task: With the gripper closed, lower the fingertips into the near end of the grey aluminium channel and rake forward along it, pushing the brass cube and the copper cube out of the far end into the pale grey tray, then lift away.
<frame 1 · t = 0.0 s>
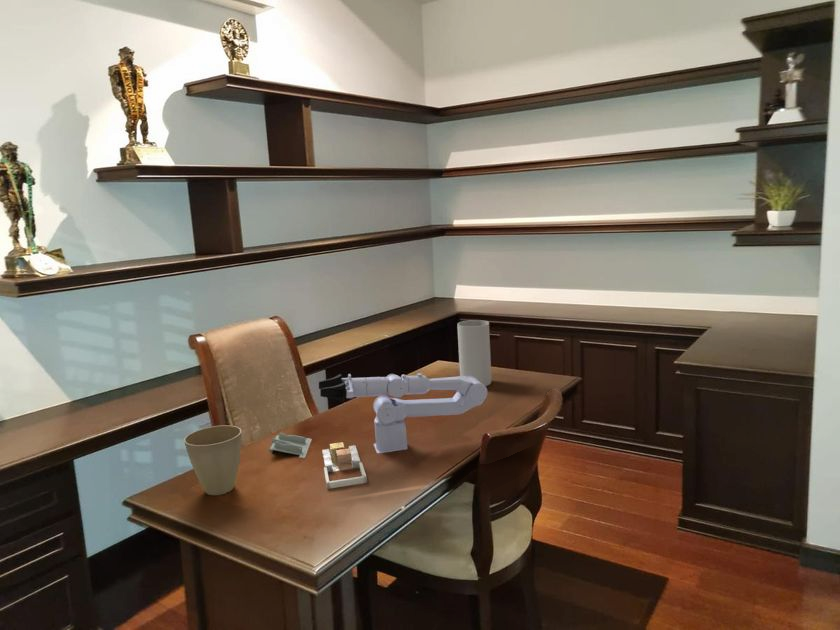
hand: (319, 388, 184), 22 cm above the table, tool horizontal, fingers open, 7 cm apart
copper cube: (344, 464, 181), point 1 cm above the table, touching aluminium channel
brass cube: (338, 458, 186), point 1 cm above the table, touching aluminium channel
plant pot: (220, 489, 172), on the table
aluminium channel: (341, 463, 183), on the table
cylinder vase: (475, 384, 251), on the table
tray: (343, 471, 178), on the table
metal bracket: (292, 452, 195), on the table
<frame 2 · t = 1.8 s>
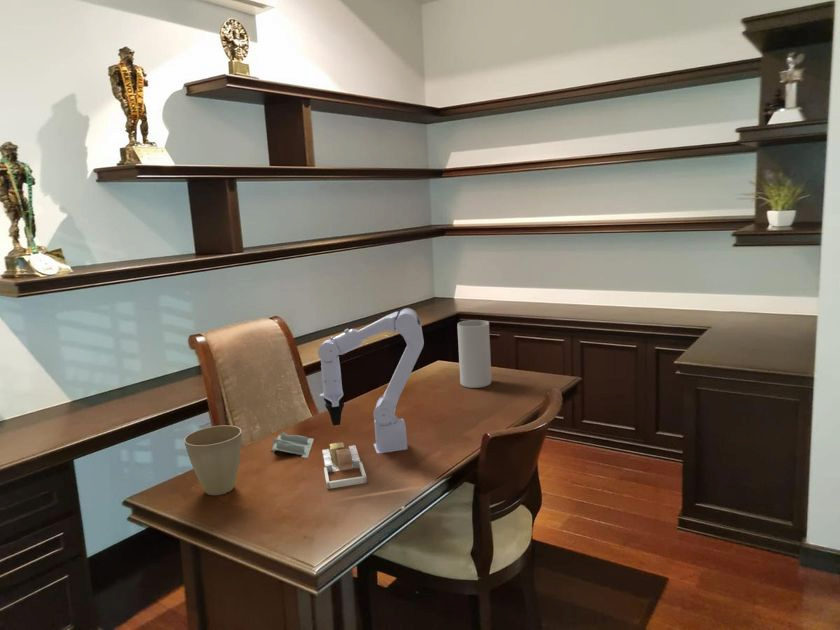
hand: (335, 421, 191), 9 cm above the table, tool pointing down, fingers open, 5 cm apart
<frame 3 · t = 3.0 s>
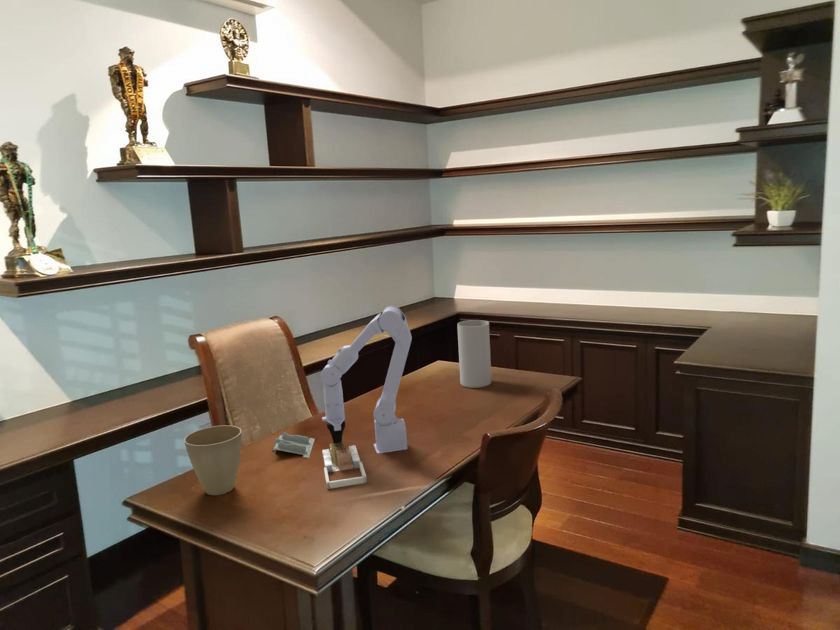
hand: (337, 444, 193), 2 cm above the table, tool pointing down, fingers closed
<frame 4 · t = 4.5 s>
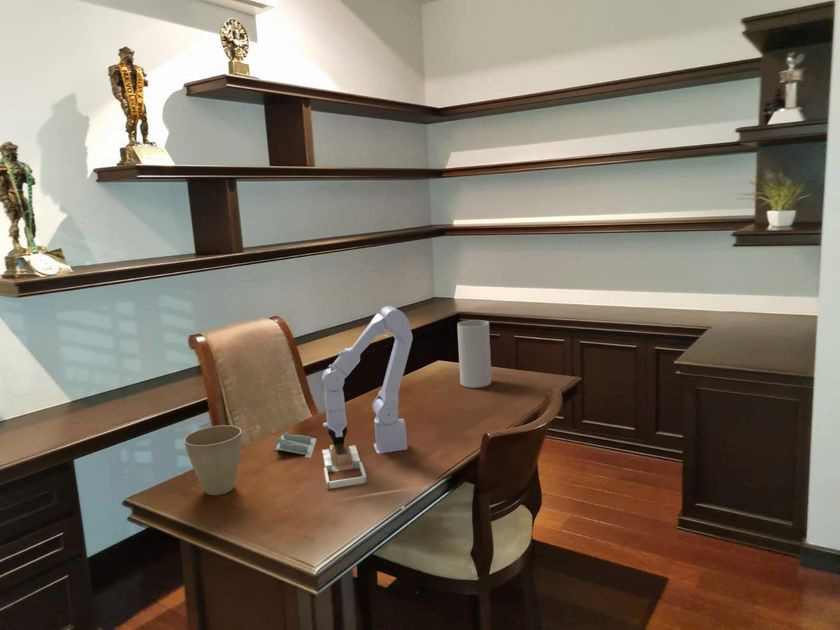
hand: (339, 451, 188), 2 cm above the table, tool pointing down, fingers closed
brass cube: (338, 459, 185), point 1 cm above the table, touching gripper
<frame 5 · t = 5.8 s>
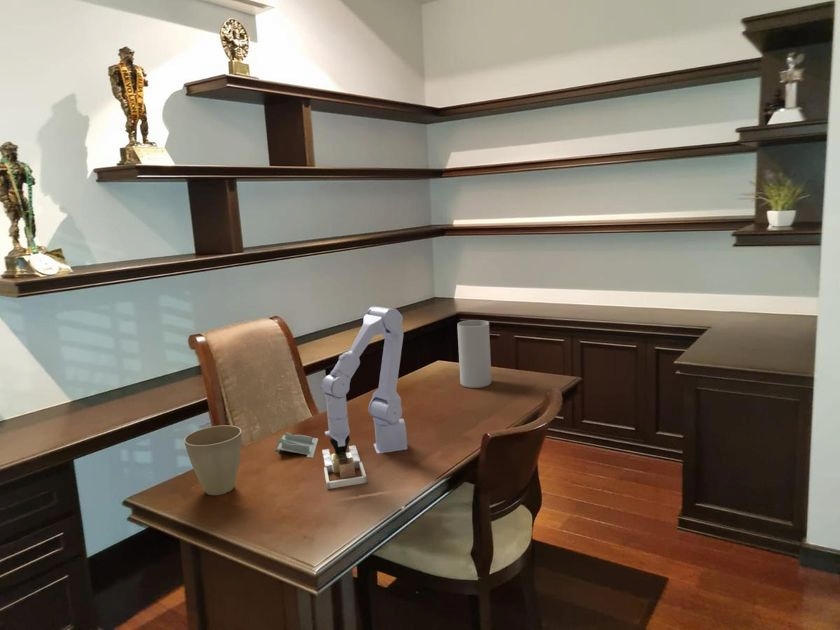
hand: (341, 460, 181), 2 cm above the table, tool pointing down, fingers closed, pressing on brass cube
copper cube: (347, 474, 175), resting on tray
brass cube: (340, 468, 178), point 1 cm above the table, touching aluminium channel, gripper
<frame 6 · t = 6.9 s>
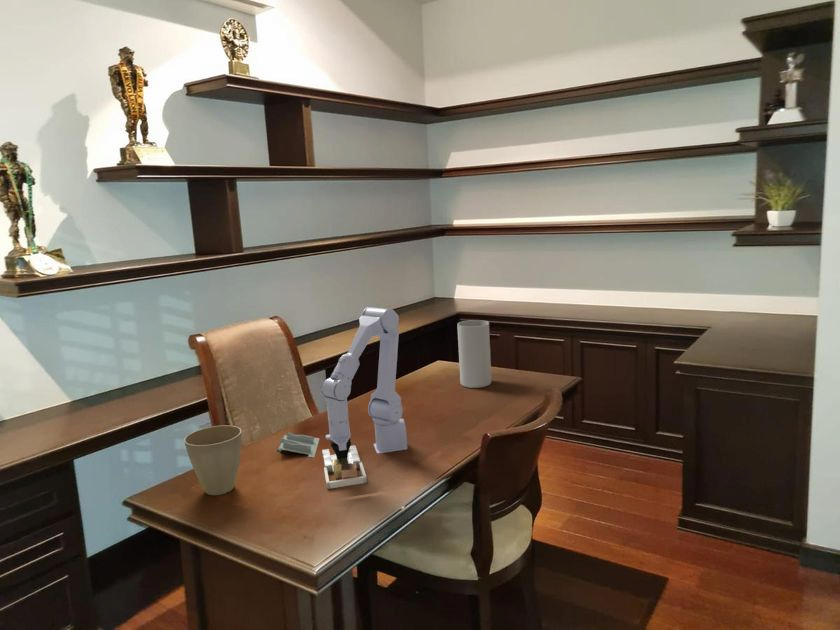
hand: (342, 464, 178), 2 cm above the table, tool pointing down, fingers closed
copper cube: (349, 480, 171), resting on tray
brass cube: (341, 474, 175), resting on tray
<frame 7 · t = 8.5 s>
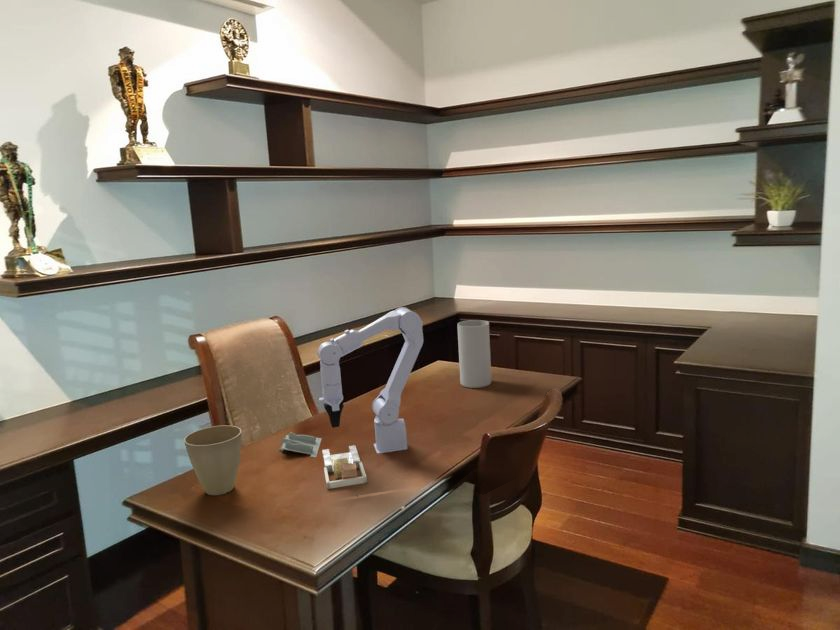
hand: (335, 426, 186), 10 cm above the table, tool pointing down, fingers closed
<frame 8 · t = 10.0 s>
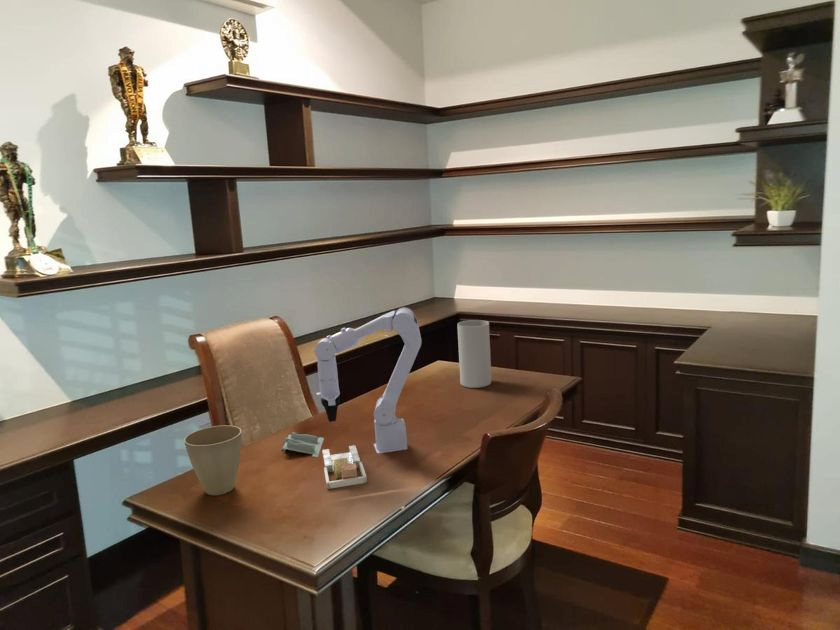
hand: (332, 420, 191), 10 cm above the table, tool pointing down, fingers closed
at the end: brass cube inside the target area (2.7 cm from its centre), point 0.5 cm above the table; copper cube inside the target area (1.9 cm from its centre), point 0.5 cm above the table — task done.
